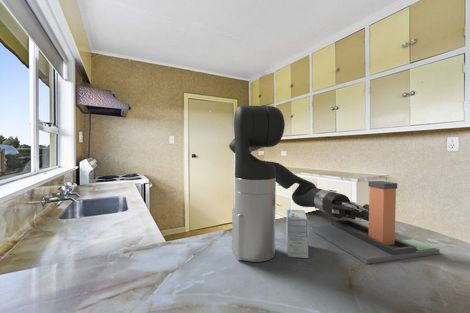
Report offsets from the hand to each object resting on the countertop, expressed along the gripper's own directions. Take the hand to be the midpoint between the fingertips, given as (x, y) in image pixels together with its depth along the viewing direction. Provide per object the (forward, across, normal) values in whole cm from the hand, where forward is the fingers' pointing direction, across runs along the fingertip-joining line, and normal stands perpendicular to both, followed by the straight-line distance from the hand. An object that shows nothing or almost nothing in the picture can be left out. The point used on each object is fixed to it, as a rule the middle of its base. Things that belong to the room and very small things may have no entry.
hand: (376, 219), depth 56 cm
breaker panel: (-2, +1, -6) cm, 7 cm away
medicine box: (-1, +22, -7) cm, 23 cm away
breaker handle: (+2, +1, -5) cm, 5 cm away
